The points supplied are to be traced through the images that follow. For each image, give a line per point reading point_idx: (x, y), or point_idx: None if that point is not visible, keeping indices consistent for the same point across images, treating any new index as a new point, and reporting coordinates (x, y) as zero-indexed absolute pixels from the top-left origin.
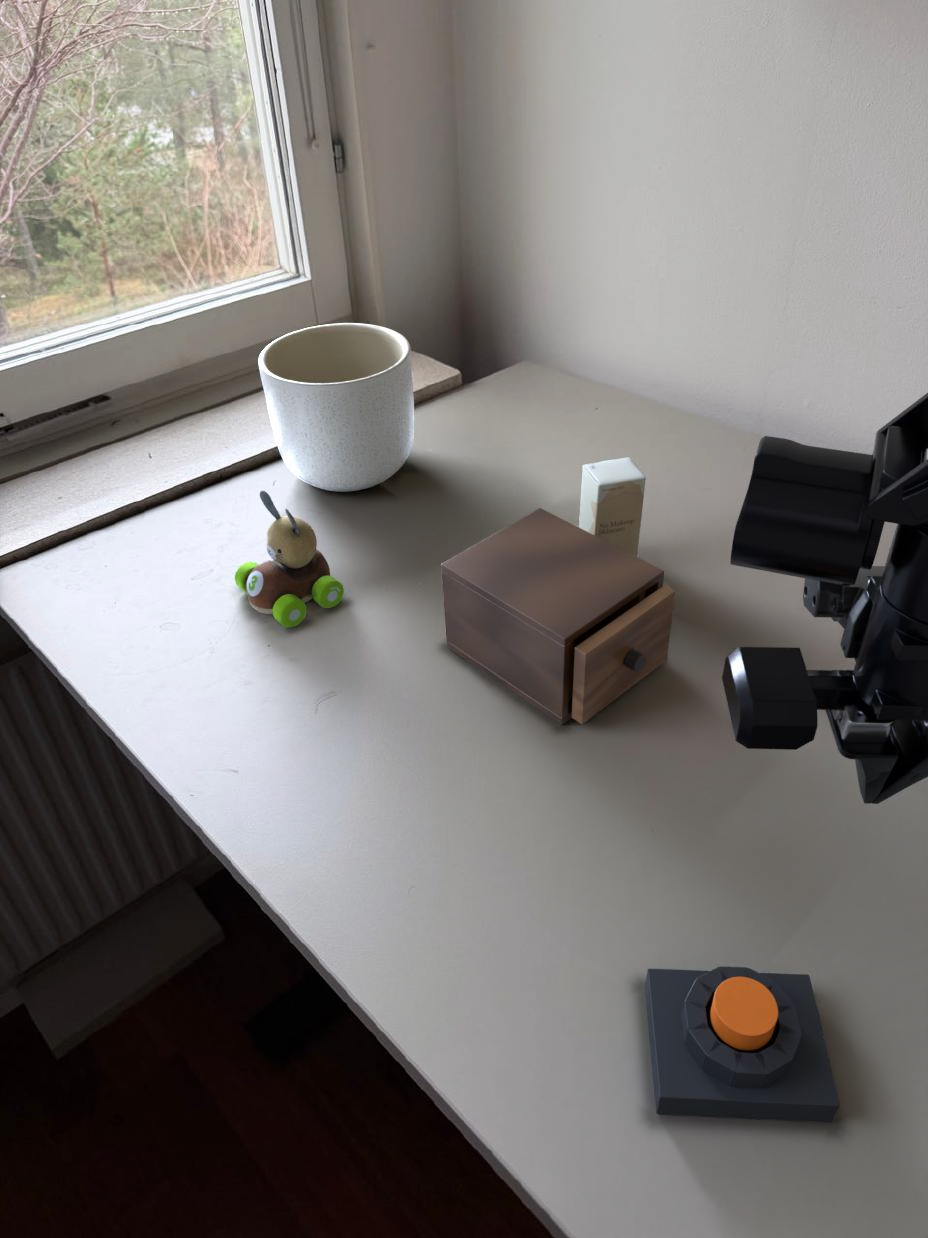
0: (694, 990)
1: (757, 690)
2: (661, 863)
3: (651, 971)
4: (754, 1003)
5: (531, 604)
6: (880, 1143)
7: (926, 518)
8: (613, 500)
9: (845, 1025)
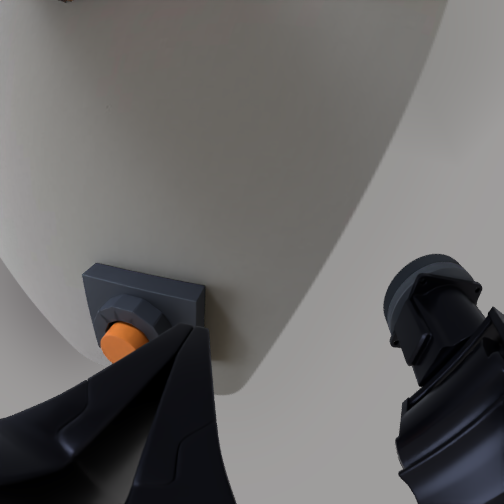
0: (97, 319)
1: None
2: (109, 147)
3: (83, 277)
4: (125, 355)
5: None
6: (229, 371)
7: None
8: None
9: (232, 312)
